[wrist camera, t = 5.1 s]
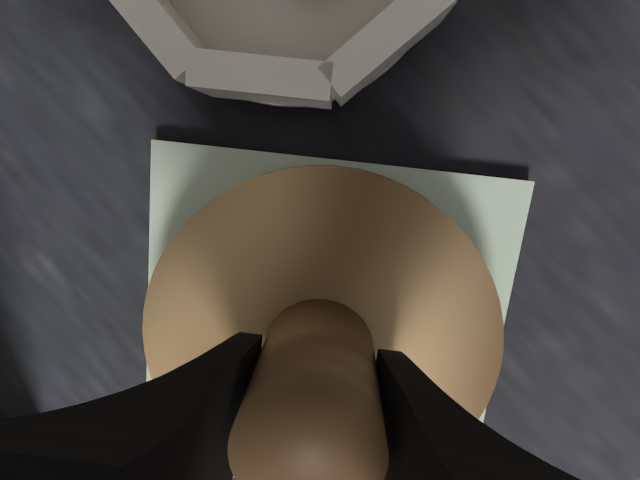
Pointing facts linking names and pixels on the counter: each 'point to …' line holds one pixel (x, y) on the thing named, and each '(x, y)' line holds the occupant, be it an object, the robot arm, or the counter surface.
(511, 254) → the mat
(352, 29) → the bowl
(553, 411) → the counter surface
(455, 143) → the counter surface
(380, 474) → the lid
